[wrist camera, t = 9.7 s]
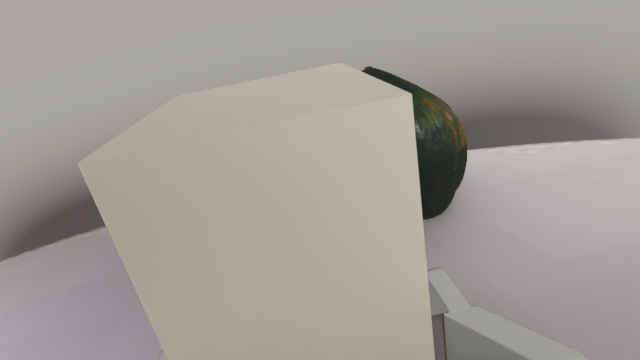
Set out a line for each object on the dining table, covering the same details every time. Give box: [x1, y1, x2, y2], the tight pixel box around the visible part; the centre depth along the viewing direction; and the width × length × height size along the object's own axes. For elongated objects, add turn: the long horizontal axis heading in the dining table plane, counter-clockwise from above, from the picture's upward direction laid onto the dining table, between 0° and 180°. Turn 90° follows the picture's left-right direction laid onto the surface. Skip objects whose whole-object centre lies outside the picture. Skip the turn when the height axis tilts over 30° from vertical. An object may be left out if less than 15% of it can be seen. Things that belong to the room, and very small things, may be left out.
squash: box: [361, 66, 467, 218], centre depth 38 cm, size 14×15×15 cm
